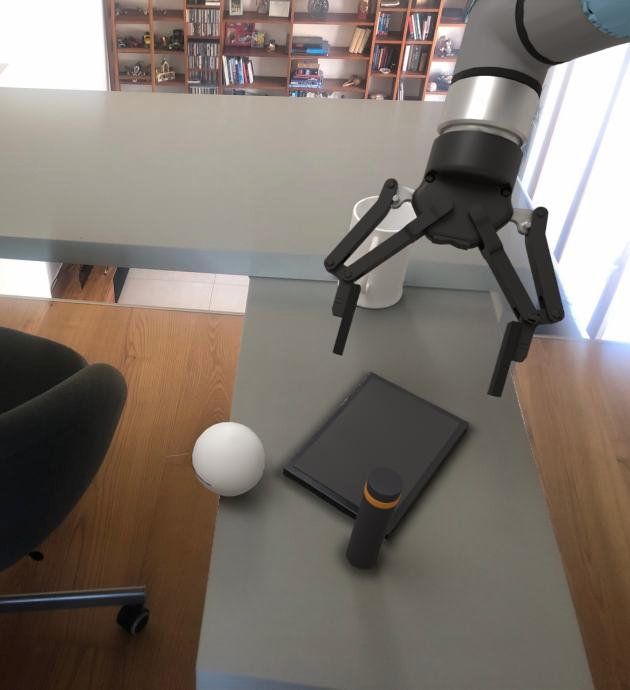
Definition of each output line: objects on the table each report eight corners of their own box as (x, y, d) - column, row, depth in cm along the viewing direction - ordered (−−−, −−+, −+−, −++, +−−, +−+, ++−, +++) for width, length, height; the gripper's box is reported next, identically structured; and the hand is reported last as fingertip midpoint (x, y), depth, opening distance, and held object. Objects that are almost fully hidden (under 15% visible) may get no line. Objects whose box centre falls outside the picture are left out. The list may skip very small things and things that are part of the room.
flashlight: (382, 554, 65) (410, 479, 57) (367, 575, 64) (393, 502, 55) (355, 536, 67) (378, 460, 58) (339, 557, 65) (361, 482, 57)
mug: (381, 332, 87) (401, 254, 79) (318, 309, 91) (330, 233, 82) (410, 281, 94) (431, 205, 86) (350, 262, 98) (365, 187, 89)
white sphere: (267, 457, 74) (272, 411, 68) (258, 516, 68) (263, 472, 63) (175, 442, 75) (173, 397, 70) (159, 499, 70) (157, 455, 65)
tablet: (467, 428, 76) (469, 422, 75) (386, 540, 66) (388, 534, 65) (369, 377, 82) (371, 370, 81) (282, 473, 72) (283, 467, 71)
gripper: (622, 181, 61) (554, 413, 61) (341, 133, 68) (283, 340, 69) (654, 154, 54) (577, 417, 54) (336, 104, 61) (271, 335, 62)
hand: (412, 374), depth 62 cm, fingers open, 13 cm apart
